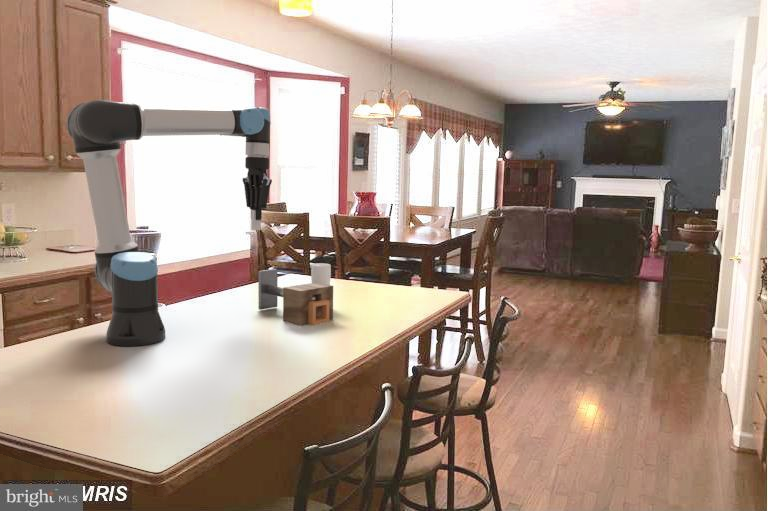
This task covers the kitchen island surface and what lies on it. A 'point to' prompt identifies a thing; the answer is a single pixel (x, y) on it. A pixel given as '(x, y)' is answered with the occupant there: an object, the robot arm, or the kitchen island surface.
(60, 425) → the kitchen island surface
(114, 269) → the robot arm
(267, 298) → the shaft
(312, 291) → the bearing block
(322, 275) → the drinking glass
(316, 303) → the orange square frame
